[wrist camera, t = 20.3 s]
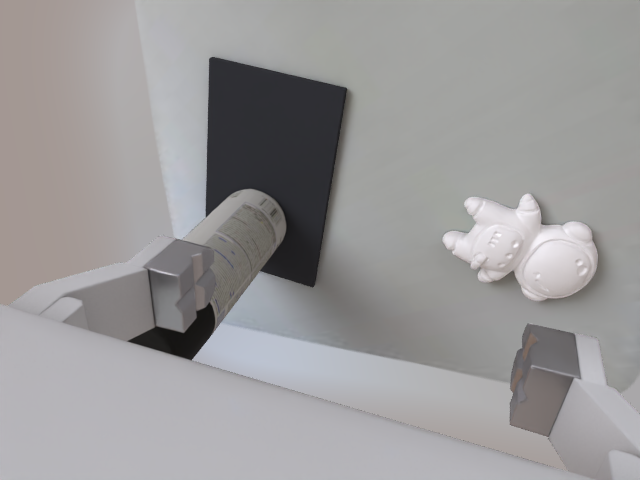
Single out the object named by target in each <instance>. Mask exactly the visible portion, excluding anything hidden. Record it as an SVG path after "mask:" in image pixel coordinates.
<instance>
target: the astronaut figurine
mask: <svg viewBox="0 0 640 480" xmlns="http://www.w3.org/2000/svg"><path fill="white" fill-rule="evenodd" d="M464 206H465V208H466V209H467V212H468V213H469V214H470V215H473V219H474V220H475V221H476V222H477V223H476V224H475V225H474V227H473V228H472V229H471V231H470V232H469V233H463V232H459V231H449V232H447V233H445V235H444V236H443V243H444V244H445V246H446V248H447V249H452V254H454V255H455V256H457V257H458V258H460V259H462V260H464V261H466V262H468V263H471V268H472V269H477V268H478V267H481V269H480V271H479V273H478V278H479V280H480V281H481V282H492V281H493V280H495V281H497V280H499V279H501V278H503V277H504V276H506V275H507V274H508V273H510V272H511V271H512V270H513V271H514V274H515V277H516V279H517V281H518V282H519V284H520V285H521V286H522V292H523V294H524V295H525V296H526V297H527V298H529V299H530V300H533V301H543V300H546V299H547V298H564V297H567V296H570V295H572V294H574V293H576V292H578V291H579V290H581V289H582V288H583V287H584V286H586V285H587V284H588V283H589V281H590V280H591V279H592V277H593V276H594V274H595V272H596V269H597V263H598V253H597V249H596V246H595V244H594V242H593V241H592V231H591V229H590V228H589V227H588V226H587V225H586V224H584V223H581V222H575V221H572V222H567V223H566V224H564V225H542V224H541V220H542V218H541V212H540V208H539V206H538V203H537V201H536V200H535V199H534V198H533V196H532V195H531V194H529V193H528V194H525V195H523V197H522V198H521V200H520V202H519V205H518V208H516V209H510V208H508V207H506V206H503V205H501V204H498V203H497V202H495V201H491V200H488V199H485V198H481V197H469V198H468V199H466V201H465V203H464Z"/></svg>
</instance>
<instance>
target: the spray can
mask: <svg viewBox="0 0 640 480" xmlns="http://www.w3.org/2000/svg"><path fill="white" fill-rule="evenodd" d="M286 227H287V225H286V220H285V216H284V212H283V210H282V208H281V207H280V205H279V204H278V202H277V201H276V200H275V199H273V198H272V197H270V196H269V195H267V194H266V193H264V192H261V191H258V190H255V189H244V190H240V191H237V192H235V193H233V194H231V195H230V196H229V197H228V198H226V199H225V200H224V201H223V202H222V203H221V204H220V205H219V206H218V207H217V208H216V209H215V210H213V211H212V212H211V213H210V214H209V215H208V216H207V217H206V218H205V219H204V220H203V221H201V222H200V223H199V224H198V225H197V226H196V227H195V228H194V229H193V230H192V231H191V232H189V233H188V234H187V235H186V236H185V237H184V238H183V239H182V240H184V241H187V242H191V243H195V244H199V245H203V246H207V247H210V248H211V249H212V250H213V251H214V260H215V262H214V263H213V264H212V265H211V266H210V268H211V270H212V271H213V273H214V274H215V279H216V284H215V291H214V294H213V296H212V298H211V301H210V302H209V303H208V305H207V306H206V307H205V308H203V309H201V310H198V311H196V315H197V318H196V319H195V320H194V322H193V323H192V324H191V325H190V326H189V327H188V329H187V330H186V331H185V332H184V333H182V332H178V331H174V330H170V329H166V328H162V327H158V326H155V327H154V328H152V329H150V330H148V331H146V332H144V333H142V334H140V335H138V336H136V337H134V338H132V339H130V340H128V341H127V342H131V343H134V344H137V345H141V346H144V347H148V348H151V349H154V350H158V351H161V352H165V353H168V354H171V355H175V356H178V357H182V358H185V359H188V360H192V359H193V358H194V356H195V355H196V354H197V353H198V351H199V350H200V349H201V347H202V346H203V345H204V344H205V343H206V341H207V340H208V339H209V338H210V336H211V335H212V334H213V332H214V331H215V330H216V328H217V327H218V326H219V324H220V323H221V322H222V320H223V319H224V318H225V316H226V315H227V314H228V312H229V311H230V310H231V309H232V307H233V306H234V304H235V303H236V302H237V301H238V299H239V298H240V297H241V295H242V294H243V293H244V291H245V290H246V289H247V287H248V286H249V285H250V283H251V282H252V281H253V279H254V278H255V277H256V275H257V274H258V273H259V271H260V270H261V269H262V267H263V266H264V265H265V264H266V262H267V261H268V260H269V258H270V257H271V256H272V254H273V253H274V252H275V250H276V249H277V248H278V246H279V245H280V243H281V242H282V241H283V238H284V236H285V233H286Z"/></svg>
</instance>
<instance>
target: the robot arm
mask: <svg viewBox="0 0 640 480" xmlns="http://www.w3.org/2000/svg"><path fill="white" fill-rule="evenodd" d="M214 262H215V260H214V251H213V250H212V249H211V248H210V247H207V246H203V245H199V244H195V243H191V242H187V241H184V240H180V239H176V238H171V237H167V236H158V237H157V238H155V239H154V240H153V241H152V242H151V243H149V244H148V245H147V246H146V247H145V248H143V249H142V250H141V251H140V252H139V253H137V254H136V255H135V256H134V257H133V258H131V259H130V260H129V261H128V262H127V263H121V262H120V263H116V264H112V265H109V266H105V267H102V268H98V269H94V270H91V271H87V272H84V273H80V274H77V275H73V276H69V277H66V278H62V279H58V280H55V281H51V282H47V283H44V284H40V285H36V286H34V287H33V288H32V289H31V290H29V291H28V292H26V293H25V294H23V295H22V296H21V297H19V298H18V299H16V300H15V301H14V302H12V303H11V304H10V305H8V306H5V305H1V304H0V480H640V413H639V412H638V411H637V410H636V409H635V408H634V407H633V406H632V405H631V404H630V403H629V402H628V401H627V400H626V399H625V398H624V397H623V396H622V395H621V394H620V393H619V392H618V391H617V390H616V389H615V388H612V387H608V384H607V379H606V374H605V369H604V364H603V359H602V354H601V349H600V344H599V340H598V339H597V338H596V337H592V336H587V335H582V334H577V333H570V332H565V331H561V330H556V329H552V328H548V327H543V326H539V325H534V324H530V323H527V325H526V327H525V330H524V333H523V336H522V348H521V349H520V350H518V351H517V354H516V357H515V360H514V364H513V369H512V373H511V385H510V389H511V391H512V392H513V396H512V399H511V402H510V425H512V426H515V427H518V428H521V429H525V430H528V431H531V432H535V433H538V434H541V435H544V436H547V437H549V438H548V439H549V441H550V442H551V443H552V445H553V447H554V449H555V450H556V452H557V454H558V455H559V457H560V458H561V460H562V462H563V463H564V465H565V466H566V468H567V470H568V471H565V470H562V469H558V468H555V467H551V466H548V465H545V464H541V463H538V462H535V461H531V460H528V459H524V458H521V457H518V456H514V455H511V454H508V453H504V452H501V451H498V450H494V449H491V448H487V447H484V446H480V445H477V444H474V443H470V442H467V441H464V440H460V439H456V438H453V437H450V436H447V435H443V434H440V433H436V432H433V431H430V430H426V429H423V428H419V427H416V426H413V425H409V424H406V423H402V422H399V421H396V420H392V419H389V418H385V417H382V416H379V415H375V414H371V413H368V412H365V411H362V410H358V409H354V408H351V407H348V406H345V405H341V404H338V403H334V402H331V401H327V400H324V399H321V398H317V397H314V396H310V395H307V394H304V393H300V392H297V391H294V390H290V389H287V388H283V387H280V386H277V385H273V384H270V383H266V382H263V381H259V380H256V379H253V378H249V377H246V376H243V375H239V374H236V373H233V372H229V371H226V370H222V369H219V368H215V367H212V366H209V365H205V364H201V363H198V362H195V361H192V360H188V359H185V358H182V357H178V356H175V355H171V354H168V353H165V352H161V351H158V350H154V349H151V348H148V347H144V346H141V345H137V344H134V343H131V342H127V341H128V340H130V339H132V338H134V337H136V336H138V335H140V334H142V333H144V332H146V331H148V330H150V329H152V328H154V327H155V326H158V327H162V328H166V329H170V330H174V331H178V332H182V333H184V332H185V331H186V330H187V329H188V327H189V326H190V325H191V324H192V323H193V322H194V320H195V319H196V318H197V315H196V311H198V310H201V309H203V308H205V307H206V306H207V305H208V303H209V302H210V301H211V298H212V296H213V294H214V291H215V284H216V279H215V274H214V273H213V271H212V270H211V268H210V266H211V265H212V264H213V263H214Z"/></svg>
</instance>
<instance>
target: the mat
mask: <svg viewBox="0 0 640 480" xmlns="http://www.w3.org/2000/svg"><path fill="white" fill-rule="evenodd" d="M346 91H347V88H344V87H340V86H336V85H332V84H327V83H323V82H319V81H314V80H310V79H306V78H301V77H297V76H293V75H288V74H284V73H280V72H276V71H271V70H267V69H263V68H258V67H254V66H250V65H245V64H241V63H237V62H232V61H228V60H224V59H220V58H215V57H211V58H210V59H209V100H208V142H207V185H206V217H207V216H208V215H209V214H210V213H211V212H212V211H213V210H215V209H216V208H217V207H218V206H219V205H220V204H221V203H222V202H223V201H224V200H225V199H226V198H228V197H229V196H230V195H231V194H233V193H235V192H237V191H240V190H244V189H255V190H258V191H261V192H264V193H266V194H267V195H269V196H270V197H272V198H273V199H275V200H276V201H277V202H278V204H279V205H280V207H281V208H282V210H283V212H284V216H285V220H286V225H287V227H286V233H285V236H284V238H283V241H282V242H281V243H280V245H279V246H278V248H277V249H276V250H275V252H274V253H273V254H272V256H271V257H270V258H269V260H268V261H267V262H266V264H265V265H264V266H263V267H262V269H261V270H260V271H262V272H265V273H268V274H272V275H275V276H278V277H281V278H284V279H288V280H291V281H294V282H297V283H300V284H304V285H307V286H310V287H314V285H315V280H316V274H317V268H318V262H319V256H320V250H321V244H322V238H323V232H324V225H325V219H326V213H327V207H328V201H329V195H330V189H331V183H332V177H333V171H334V164H335V158H336V152H337V146H338V140H339V134H340V128H341V122H342V116H343V109H344V103H345V97H346Z"/></svg>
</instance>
